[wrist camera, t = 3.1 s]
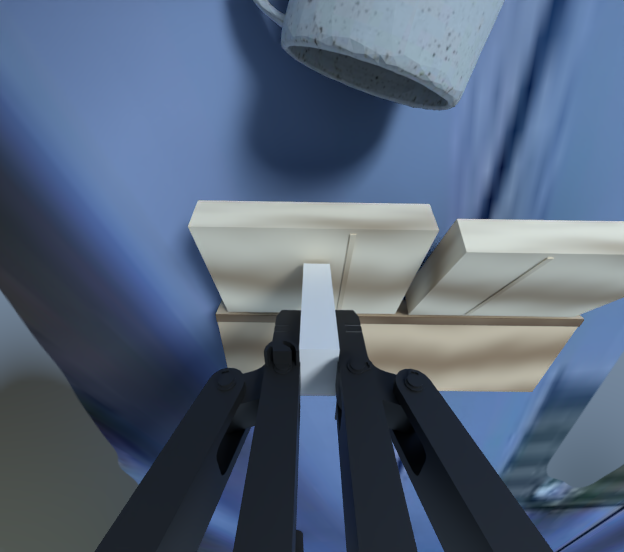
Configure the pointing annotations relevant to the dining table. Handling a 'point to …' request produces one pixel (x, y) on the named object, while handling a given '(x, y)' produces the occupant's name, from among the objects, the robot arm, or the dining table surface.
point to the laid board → (428, 346)
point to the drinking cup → (299, 541)
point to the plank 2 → (521, 269)
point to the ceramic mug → (390, 44)
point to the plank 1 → (312, 251)
